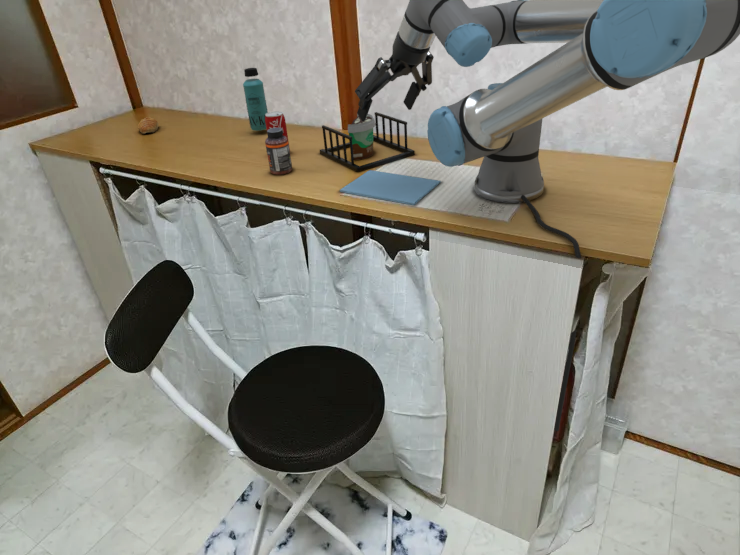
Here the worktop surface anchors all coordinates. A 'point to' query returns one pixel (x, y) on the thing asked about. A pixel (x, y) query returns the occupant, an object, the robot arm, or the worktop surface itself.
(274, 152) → the supplement bottle
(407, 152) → the dish rack
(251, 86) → the beverage bottle
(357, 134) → the food container
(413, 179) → the drying mat
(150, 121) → the pastry
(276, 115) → the soda can
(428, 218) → the worktop surface
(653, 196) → the worktop surface
